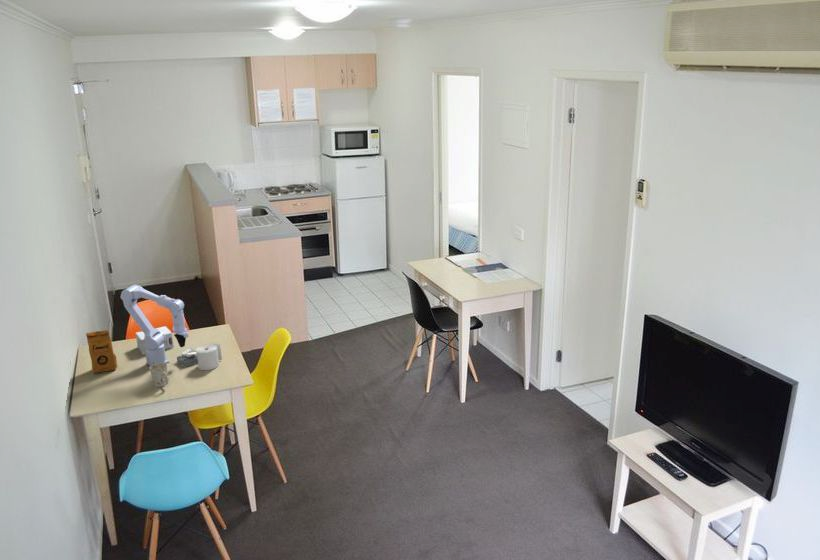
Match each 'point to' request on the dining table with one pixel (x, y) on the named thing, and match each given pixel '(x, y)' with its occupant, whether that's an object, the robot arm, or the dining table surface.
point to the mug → (159, 374)
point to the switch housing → (187, 360)
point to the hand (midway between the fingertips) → (182, 346)
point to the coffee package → (101, 351)
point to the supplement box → (164, 330)
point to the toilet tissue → (208, 356)
